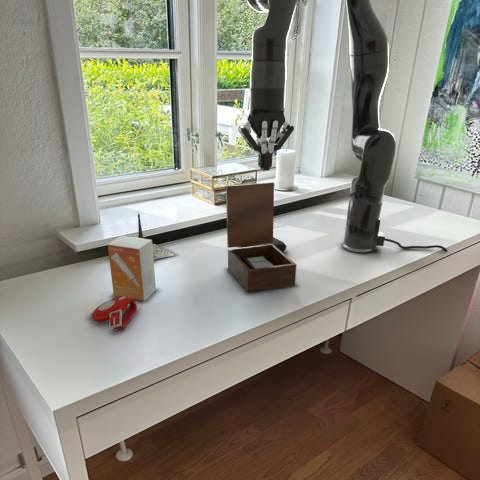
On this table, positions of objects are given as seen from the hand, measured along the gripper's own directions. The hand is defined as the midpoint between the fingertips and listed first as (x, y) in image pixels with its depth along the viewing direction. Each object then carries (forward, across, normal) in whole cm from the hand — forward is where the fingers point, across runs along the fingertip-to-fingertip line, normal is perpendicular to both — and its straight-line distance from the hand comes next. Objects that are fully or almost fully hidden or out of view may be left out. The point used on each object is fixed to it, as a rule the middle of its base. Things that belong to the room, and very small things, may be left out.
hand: (264, 169), depth 107 cm
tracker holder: (+27, +38, +10) cm, 48 cm away
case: (+27, 0, 0) cm, 27 cm away
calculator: (+26, 0, 0) cm, 26 cm away
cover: (+13, 0, -8) cm, 15 cm away
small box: (+27, +32, -1) cm, 42 cm away
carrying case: (+27, -7, -19) cm, 34 cm away
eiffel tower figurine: (+27, +26, -23) cm, 44 cm away
